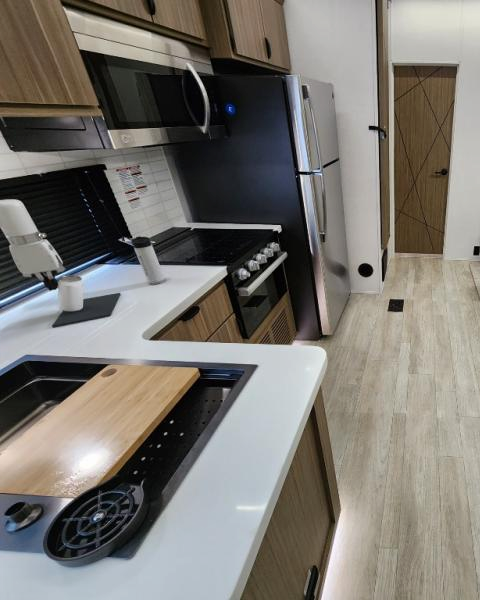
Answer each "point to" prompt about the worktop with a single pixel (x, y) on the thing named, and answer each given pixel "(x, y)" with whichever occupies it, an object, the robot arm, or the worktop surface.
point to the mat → (89, 310)
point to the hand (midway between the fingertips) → (54, 288)
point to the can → (70, 293)
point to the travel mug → (148, 260)
